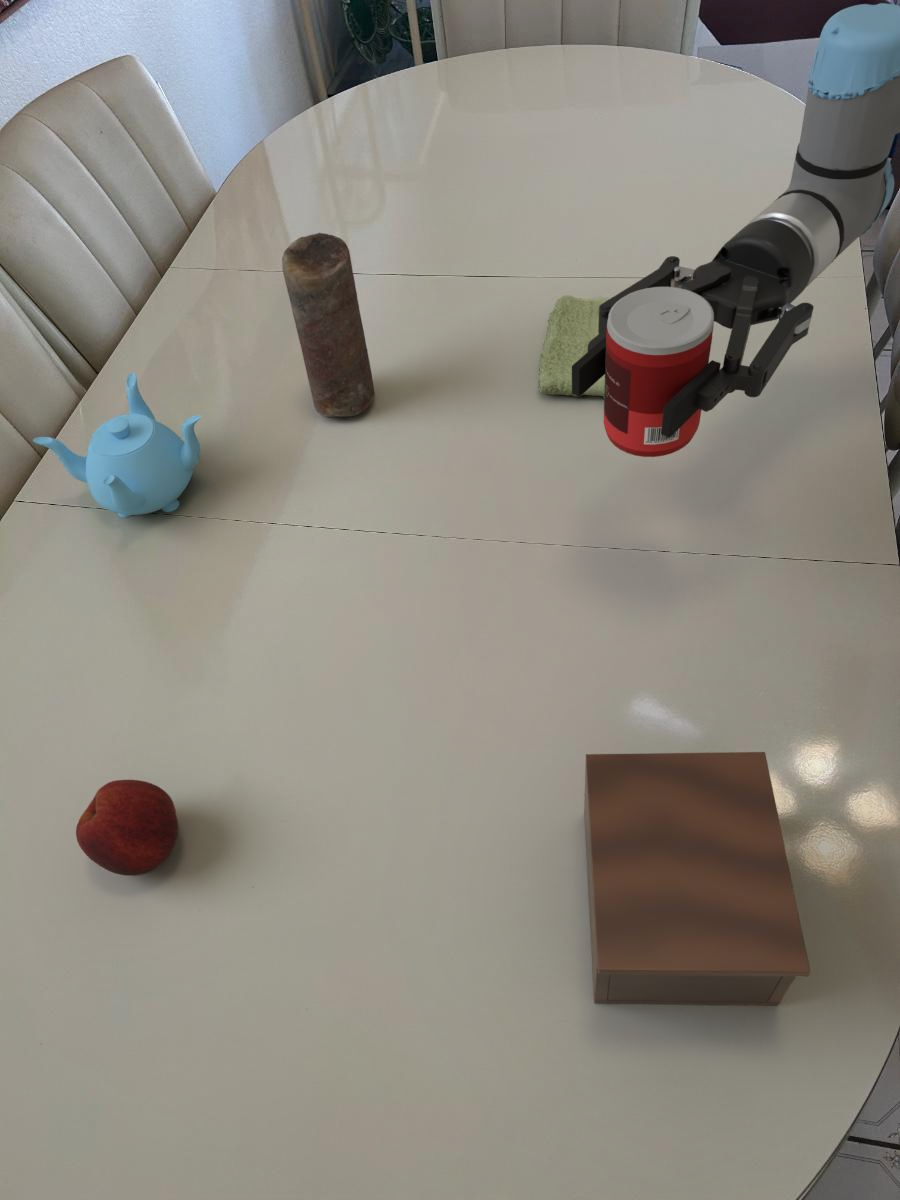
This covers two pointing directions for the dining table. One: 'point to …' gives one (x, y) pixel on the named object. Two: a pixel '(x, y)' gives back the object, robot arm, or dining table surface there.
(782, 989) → the chest
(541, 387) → the washcloth
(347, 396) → the candle
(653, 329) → the canned food
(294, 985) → the dining table surface
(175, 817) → the apple
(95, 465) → the teapot
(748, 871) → the lid
